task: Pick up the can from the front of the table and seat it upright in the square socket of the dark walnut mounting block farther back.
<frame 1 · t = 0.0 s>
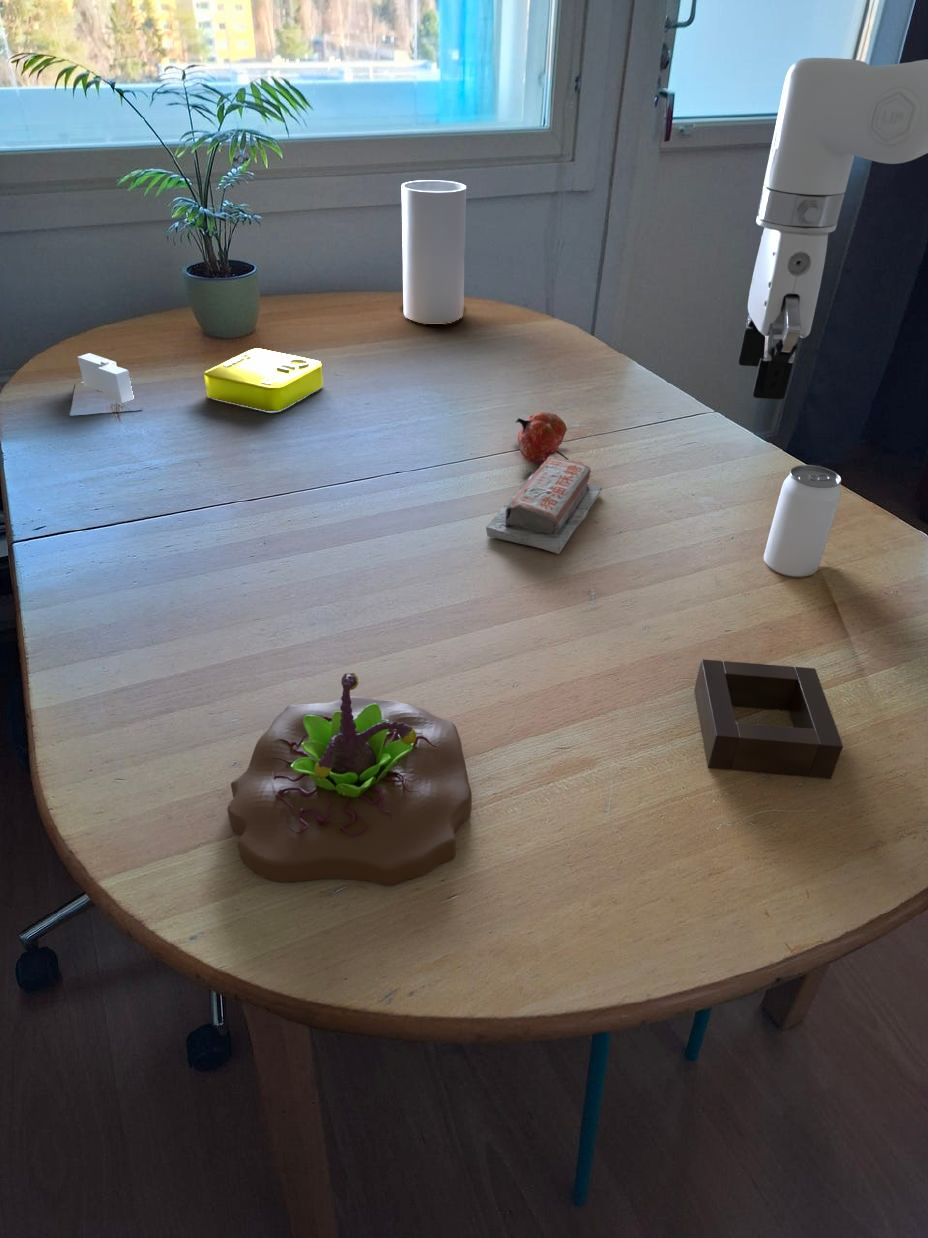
hand: (759, 380, 95), 22 cm above the table, tool pointing down, fingers open, 9 cm apart
pomegranate: (541, 460, 129), on the table
cylinder vase: (433, 317, 184), on the table
plant: (355, 792, 75), on the table
socket block: (758, 732, 82), on the table
element tile: (266, 393, 147), on the table
packaged product: (545, 516, 115), on the table
can: (789, 566, 107), on the table
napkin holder: (108, 397, 144), on the table
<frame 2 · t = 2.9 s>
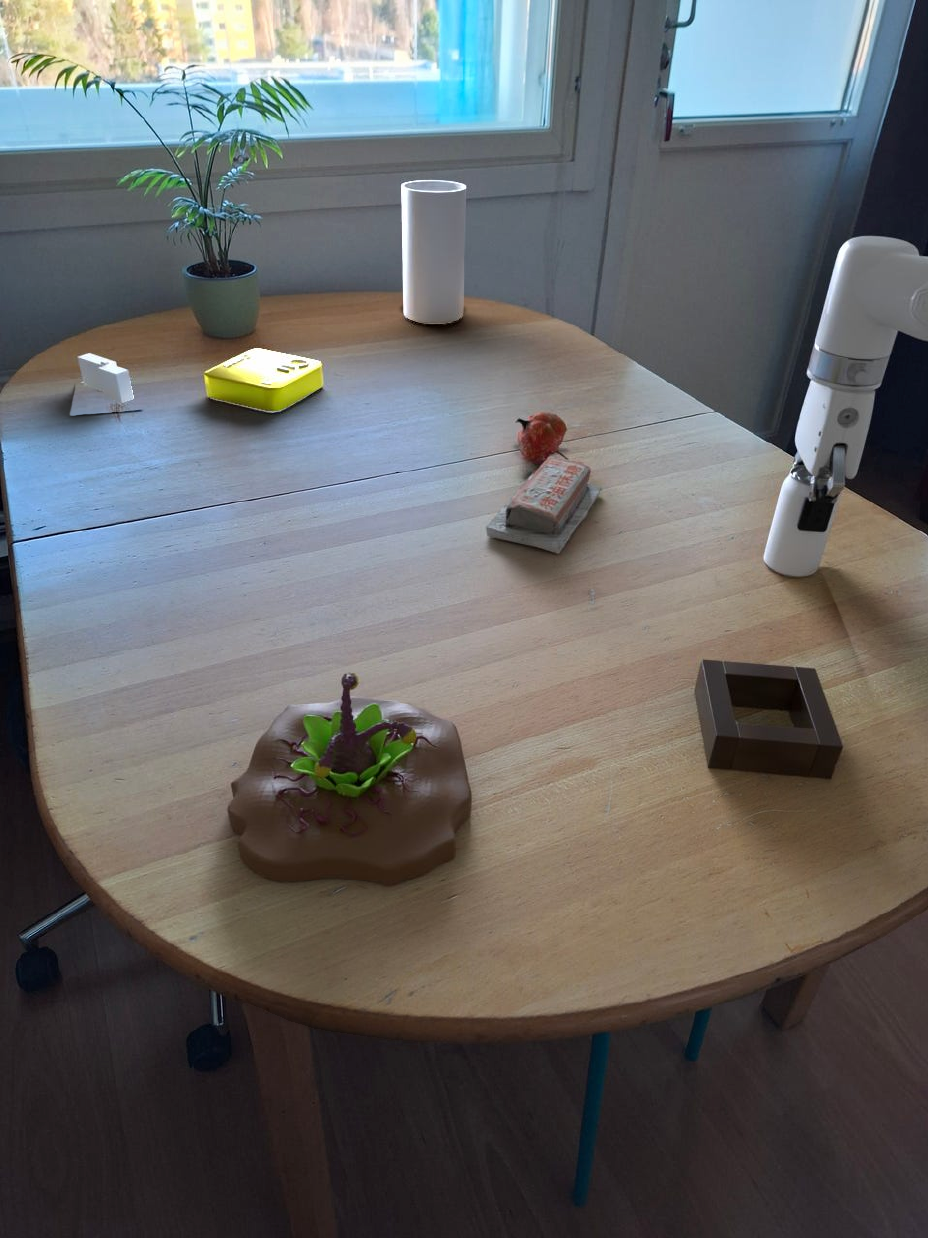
hand: (804, 513, 102), 7 cm above the table, tool pointing down, fingers closed on can, 6 cm apart
can: (789, 566, 107), on the table, touching gripper
everything else where it was.
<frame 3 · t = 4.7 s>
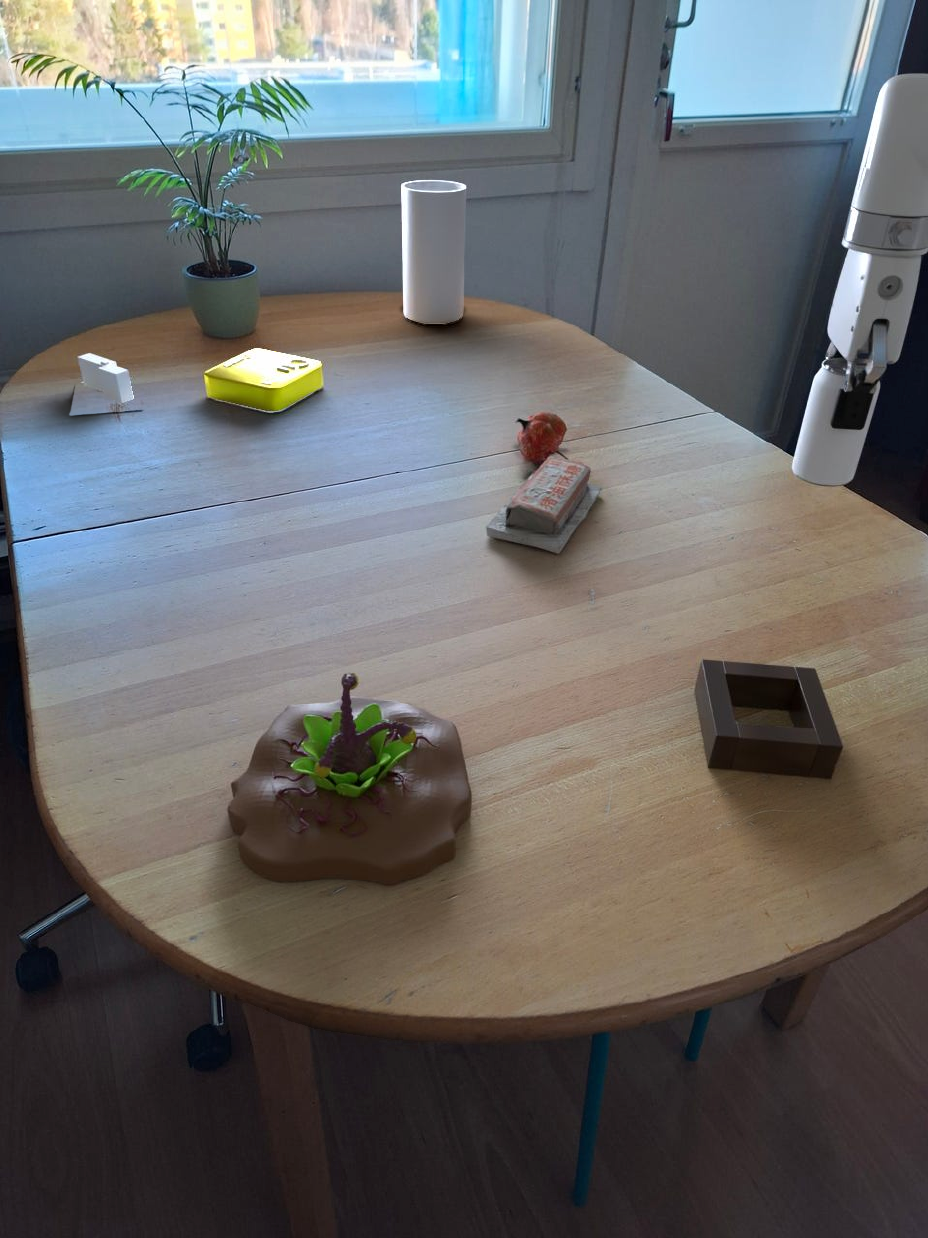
hand: (838, 412, 91), 21 cm above the table, tool pointing down, fingers closed on can, 6 cm apart
can: (821, 476, 95), point 14 cm above the table, touching gripper
everything else where it was.
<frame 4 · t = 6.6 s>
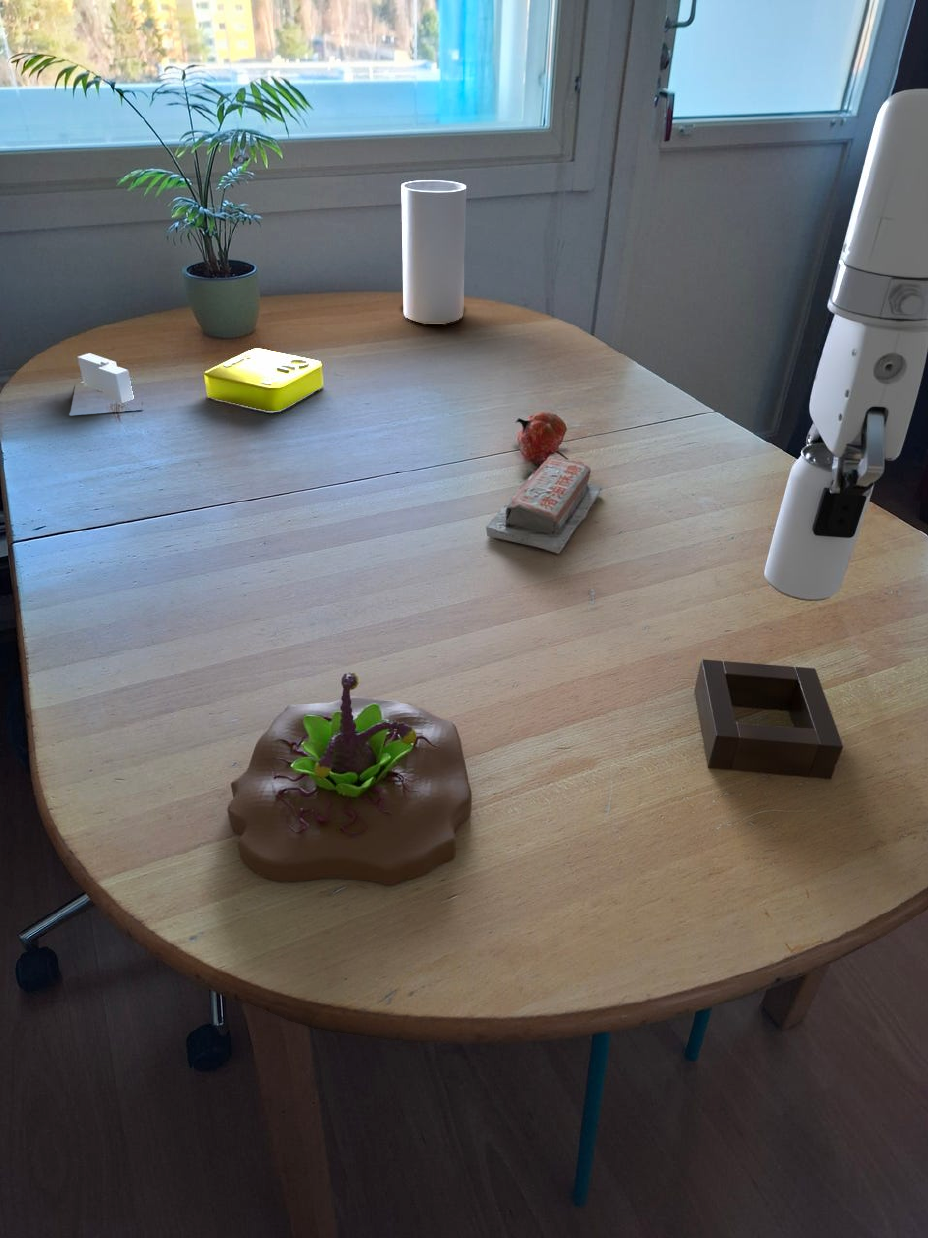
hand: (822, 511, 73), 21 cm above the table, tool pointing down, fingers closed on can, 6 cm apart
can: (800, 584, 77), point 14 cm above the table, touching gripper
everything else where it was.
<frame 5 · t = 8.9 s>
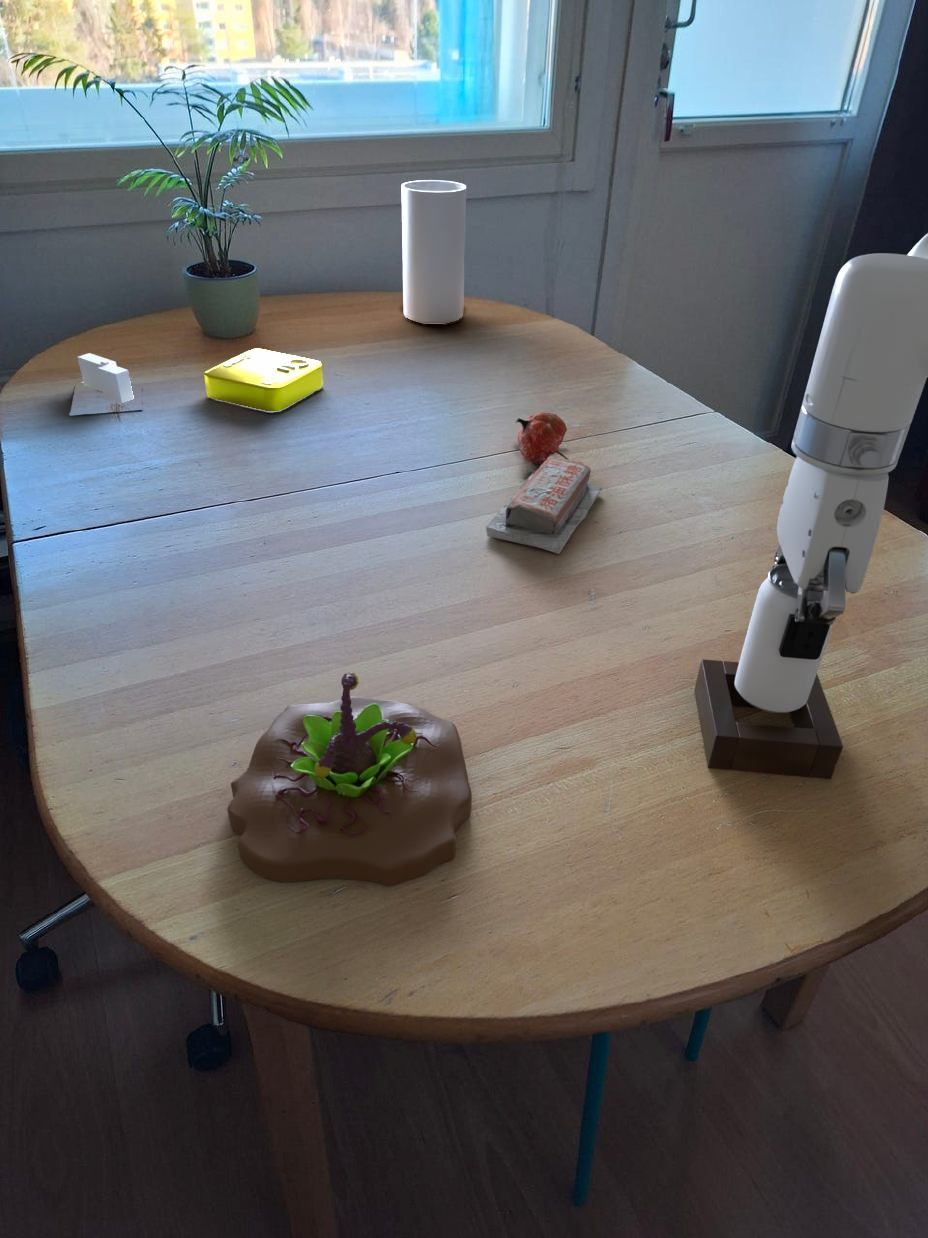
hand: (789, 628, 75), 12 cm above the table, tool pointing down, fingers closed on can, 6 cm apart
can: (769, 693, 79), point 5 cm above the table, touching gripper
everything else where it was.
when the fingers open (7 cm above the table, at t = 10.6 s): can stays where it is, resting in socket block.
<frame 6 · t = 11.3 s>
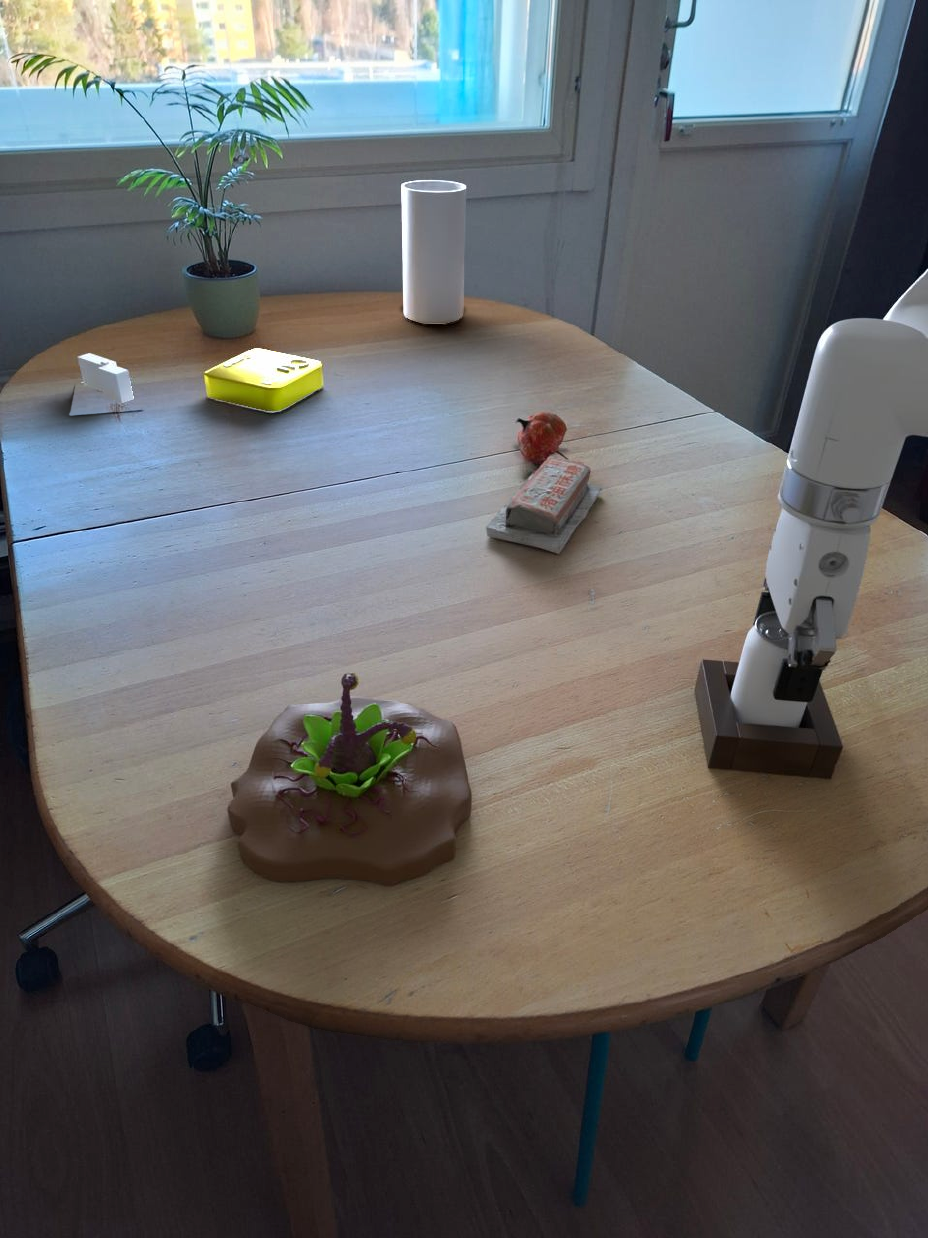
hand: (780, 662, 77), 8 cm above the table, tool pointing down, fingers open, 9 cm apart
can: (757, 733, 82), resting in socket block
everything else where it was.
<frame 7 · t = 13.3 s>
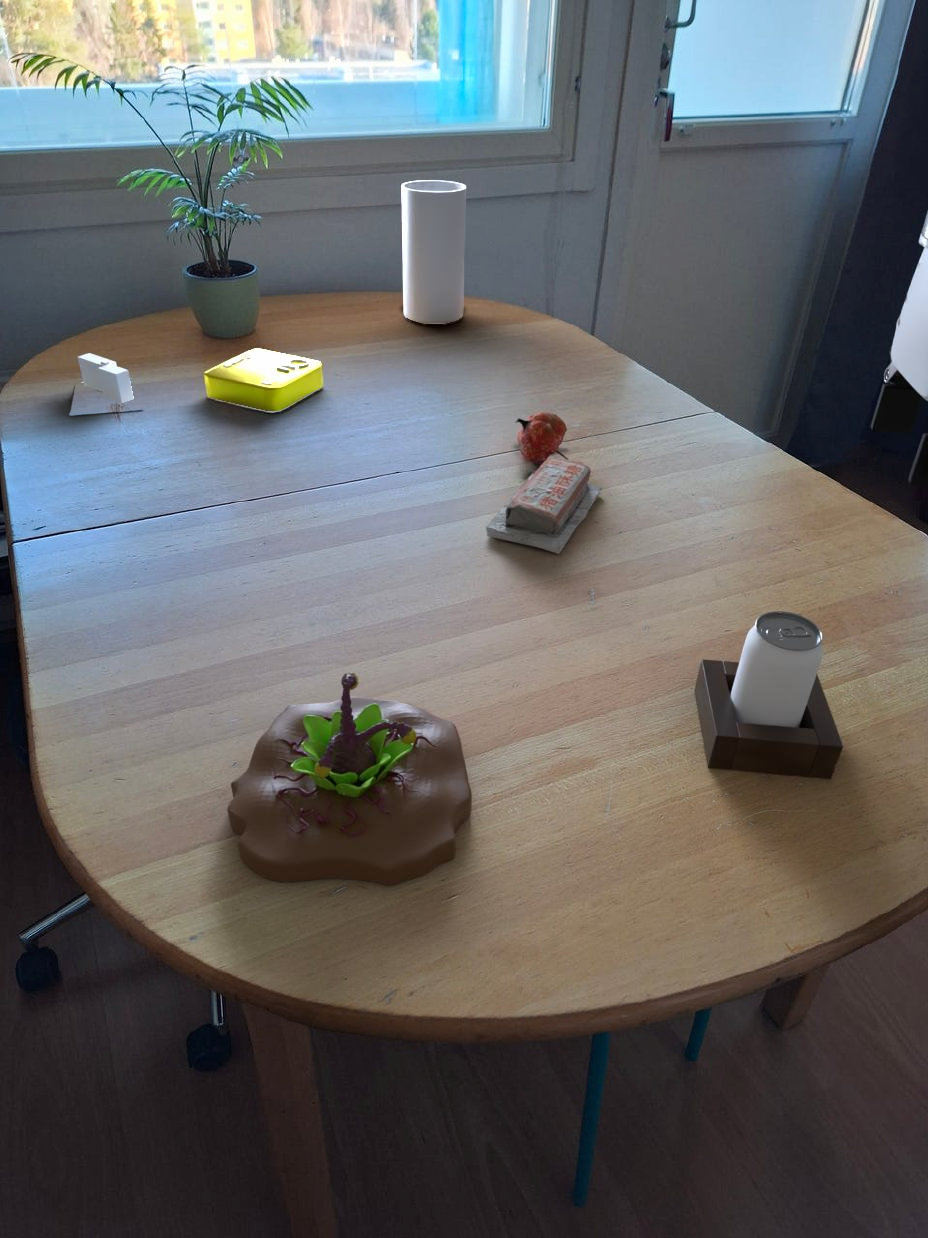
hand: (908, 456, 69), 27 cm above the table, tool pointing down, fingers open, 9 cm apart
nothing on the table moved.
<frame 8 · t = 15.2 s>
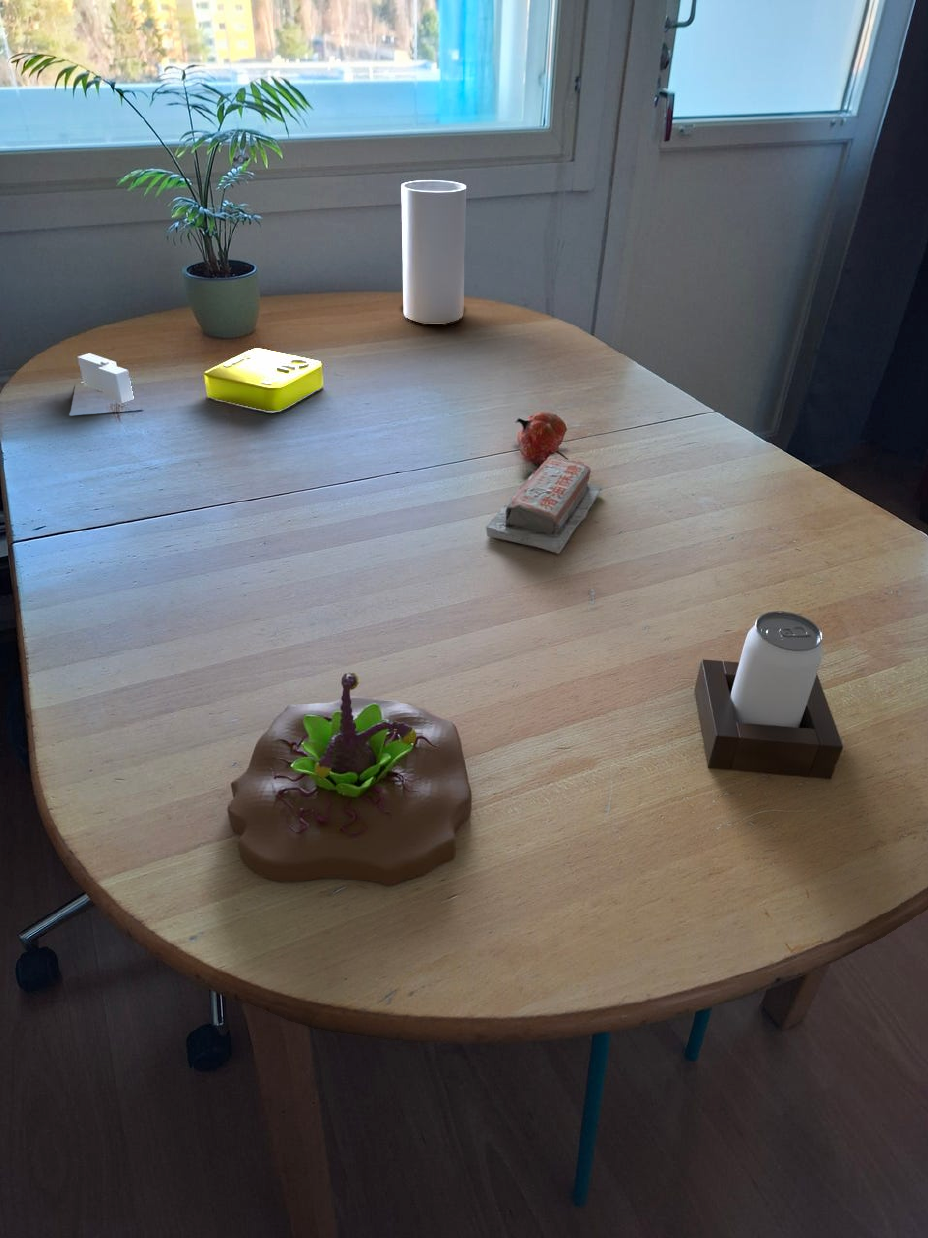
nothing on the table moved.
at the end: can 0.1 cm off-centre in the socket block, point 0.0 cm above the socket block's base; can tilted 0°; the gripper is holding nothing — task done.
